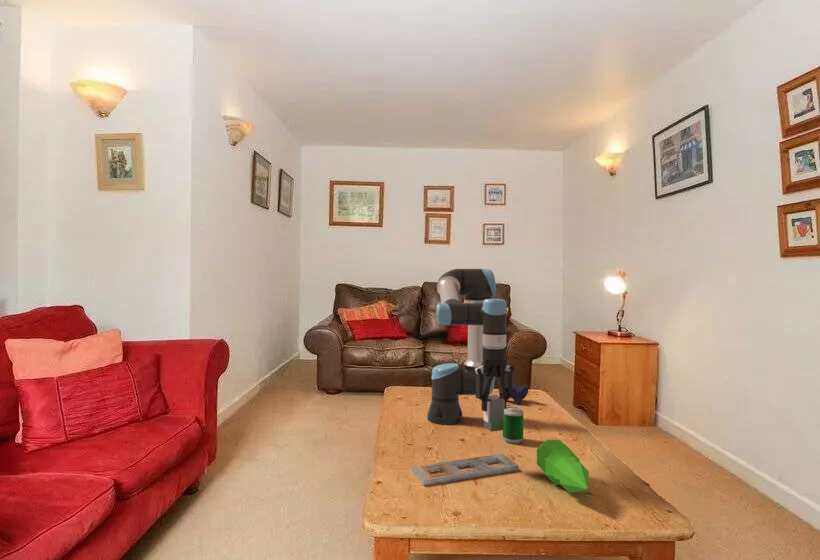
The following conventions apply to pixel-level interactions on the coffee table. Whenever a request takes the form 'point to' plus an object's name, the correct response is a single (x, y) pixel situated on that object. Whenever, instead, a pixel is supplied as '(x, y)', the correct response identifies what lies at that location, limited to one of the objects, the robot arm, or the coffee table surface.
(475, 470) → the grey board with holes
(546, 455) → the decorative tree
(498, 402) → the rectangular block
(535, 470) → the coffee table surface
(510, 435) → the soda can
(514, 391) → the tetrapod
